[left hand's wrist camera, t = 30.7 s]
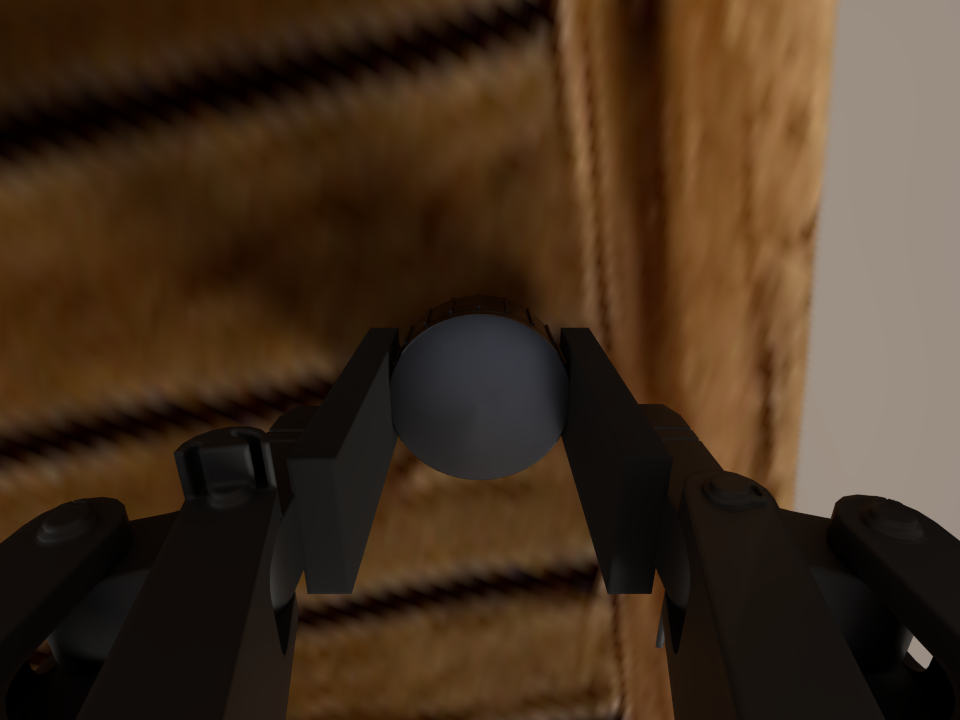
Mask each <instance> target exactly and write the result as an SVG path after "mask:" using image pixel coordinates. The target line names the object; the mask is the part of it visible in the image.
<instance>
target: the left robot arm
mask: <svg viewBox="0 0 960 720" xmlns="http://www.w3.org/2000/svg"><path fill="white" fill-rule="evenodd" d="M560 348H561V351H562V353H563V355H564V358H565V360H566V362H567V366H566V369H567V372H568V375H569V378H570V394H569V409H568V421H567V424H566V427H565V429H564V431H563V433H562V435H561V437H562V440H563V443H564V447H565V450H566V454H567V457H568V460H569V464H570V467H571V471H572V474H573V477H574V481H575V484H576V487H577V491H578V494H579V498H580V501H581V504H582V508H583V511H584V515H585V518H586V521H587V525H588V528H589V532H590V535H591V538H592V542H593V545H594V549H595V552H596V555H597V559H598V562H599V566H600V569H601V572H602V576H603V579H604V583H605V586H606V589H607V593H608V594H652V588H653V581H654V575H655V569H657V572H658V574H659V576H660V579H661V581H662V583H663V585H664V588H665V594H664V599H663V605H662V611H661V617H660V623H659V628H658V634H657V641H656V647H658V648H663V643H664V638H665V646H666V654H667V662H668V670H669V678H670V686H671V694H672V702H673V710H674V718H675V720H960V541H959V540H958V539H957V538H955V537H954V536H953V535H952V534H950V533H949V532H948V531H946V530H945V529H944V528H943V527H941V526H940V525H939V524H937V523H936V522H935V521H933V520H931V519H930V518H928V517H927V516H925V515H923V514H922V513H920V512H919V511H917V510H914V509H912V508H910V507H907V506H905V505H903V504H902V503H900V502H898V501H894V500H891V499H886V498H883V497H878V496H867V495H851V496H844V497H842V498H841V499H840V500H838V501H837V502H836V503H835V506H834V510H833V513H832V516H831V519H829V518H824V517H819V516H814V515H809V514H804V513H798V512H793V511H789V510H785V509H781V508H779V506H778V505H777V503H776V501H775V499H774V498H773V496H772V495H771V494H770V493H769V491H768V490H767V489H766V488H764V487H763V486H761V485H760V484H758V483H757V482H755V481H754V480H752V479H749V478H747V477H744V476H742V475H739V474H737V473H733V472H728V471H724V470H723V469H722V467H721V466H720V465H719V464H718V462H717V461H716V460H715V459H714V457H713V456H712V455H711V453H710V452H709V451H708V450H707V448H706V447H705V446H704V445H703V443H702V442H701V441H699V438H698V437H697V436H696V434H695V433H694V432H693V431H692V430H690V427H689V426H688V424H687V423H686V422H685V420H684V419H683V418H682V417H681V415H679V414H678V413H676V412H674V411H673V410H671V409H669V408H668V407H666V406H665V405H663V404H638V403H637V402H636V400H635V399H634V397H633V395H632V394H631V392H630V391H629V389H628V388H627V386H626V385H625V383H624V382H623V380H622V378H621V377H620V375H619V374H618V372H617V371H616V369H615V368H614V366H613V365H612V363H611V362H610V360H609V358H608V357H607V355H606V354H605V352H604V351H603V349H602V348H601V346H600V345H599V343H598V341H597V340H596V338H595V337H594V335H593V334H592V332H591V331H590V329H589V328H561V337H560ZM398 350H399V331H398V328H370V330H369V331H368V333H367V334H366V336H365V337H364V339H363V340H362V342H361V344H360V345H359V347H358V348H357V350H356V351H355V353H354V354H353V356H352V357H351V359H350V360H349V362H348V364H347V365H346V367H345V368H344V370H343V371H342V373H341V374H340V376H339V377H338V379H337V381H336V382H335V384H334V385H333V387H332V388H331V390H330V391H329V393H328V394H327V396H326V397H325V399H324V401H323V402H322V404H321V405H320V406H296V407H295V408H293V409H291V410H290V411H288V412H286V413H285V414H283V415H281V416H280V417H279V418H278V419H277V420H276V422H275V423H274V424H273V426H272V427H271V428H270V429H269V432H267V433H265V432H264V431H262V430H261V429H258V428H253V427H249V426H241V427H227V428H221V429H216V430H212V431H209V432H206V433H203V434H201V435H198V436H196V437H194V438H192V439H190V440H188V441H187V442H185V443H183V444H182V445H181V446H180V447H179V448H178V449H177V450H176V451H175V452H174V457H175V460H176V464H177V468H178V472H179V476H180V480H181V484H182V488H183V492H184V496H185V501H184V503H183V505H182V507H181V509H180V511H176V512H172V513H168V514H163V515H158V516H153V517H147V518H142V519H137V520H132V521H129V519H128V516H127V512H126V509H125V506H124V505H123V504H122V503H121V502H120V501H118V500H117V499H112V498H106V497H98V498H88V499H79V500H74V502H72V501H71V502H67V503H64V504H61V505H59V506H58V507H56V508H54V509H52V510H49V511H47V512H45V513H42V514H41V515H39V516H38V517H36V518H34V519H33V520H31V521H30V522H28V523H27V524H25V525H24V526H22V527H21V528H20V529H18V530H17V531H16V532H15V533H13V534H12V535H11V536H10V537H8V538H7V539H6V540H4V541H3V542H2V543H1V544H0V720H285V719H286V711H287V703H288V695H289V687H290V679H291V671H292V663H293V655H294V647H295V639H296V631H297V623H298V615H299V613H298V606H297V599H296V594H295V589H296V587H297V584H298V582H299V580H300V577H301V575H302V573H303V570H304V573H305V579H306V585H307V592H308V594H352V591H353V587H354V584H355V580H356V577H357V574H358V570H359V567H360V563H361V560H362V557H363V553H364V550H365V547H366V543H367V540H368V536H369V533H370V530H371V526H372V523H373V519H374V516H375V513H376V509H377V506H378V502H379V499H380V496H381V492H382V489H383V485H384V482H385V479H386V475H387V472H388V468H389V465H390V462H391V458H392V455H393V451H394V448H395V445H396V441H397V438H398V434H397V432H396V430H395V428H394V425H393V423H392V417H391V403H390V389H389V380H390V377H391V373H392V370H393V367H392V363H393V361H394V359H395V357H396V354H397V352H398ZM913 636H915V637H916V638H917V639H918V641H919V642H920V643H921V644H922V645H923V646H924V647H925V648H926V649H927V650H928V651H929V652H930V653H931V655H932V656H933V658H932V660H931V662H930V665H929V666H928V668H927V669H925V668H923V667H922V666H921V665H920V664H919V663H918V662H917V661H916V660H915V659H914V658H913V657H912V656H911V655H910V654H909V653H908V651H907V650H908V647H909V645H910V643H911V640H912V638H913ZM46 638H47V640H48V643H49V645H50V647H51V650H52V652H53V654H52V655H51V656H50V657H49V658H48V659H47V661H46V662H45V663H44V664H43V665H41V666H40V667H39V668H38V669H36V670H35V671H34V670H32V669H31V667H30V664H29V662H28V660H27V659H28V658H29V657H30V656H31V655H32V653H33V652H34V651H35V650H36V649H37V648H38V647H39V646H40V645H41V644H42V643H43V642H44V641H45V639H46Z"/></svg>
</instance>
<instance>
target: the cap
mask: <svg viewBox="0 0 960 720" xmlns="http://www.w3.org/2000/svg"><path fill="white" fill-rule="evenodd" d="M566 366H567V362H566V360H565V358H564V355H563V353H562V351H561V348H560V346H559V345H558V346H557V345H556V343H555V340H554V338H553V336H552V333H551V331H550V329H549V326H548V325H547V324H546V325H544V324H543V323H542V322H541V320H540V319H538V318H537V317H536V316H535V315H534V314H533V313H532V312H531V310H530V309H529V308H527V309H525V308H524V307H522V306H520V305H518V304H516V303H514V302H512V301H508V300H507V298H506V297H504V298H503V299H502V298H497V297H492V296H481V294H478V296H467V297H462V298H457V299H455V297H453V298H451V301H448V302H446V303H444V304H441V305H439V306H437V307H436V308H434V309H433V310H432V309H431V308H430V309H429V310H428V312H427V314H426V315H425V316H423V317H422V318H421V319H420V320H419V321H418V322H417V323H416V324H415V326H413V325H412V326H411V327H410V329H409V332H408V334H407V336H406V339H405V341H404V344H403V346H402V347H401V346H400V347H399V350H398V352H397V354H396V357H395V359H394V361H393V363H392V367H393V370H392V373H391V377H390V380H389V389H390V403H391V417H392V423H393V425H394V428H395V430H396V432H397V434H398V436H399V437H400V439H401V440H402V442H403V443H404V444H405V446H406V447H407V448H408V449H409V450H410V452H412V453H413V454H414V455H415V456H416V457H417V458H418V459H419V460H421V461H422V462H424V463H425V464H426V465H428V466H430V467H432V468H433V469H435V470H437V471H440V472H442V473H444V474H447V475H450V476H454V477H457V478H463V479H470V480H489V479H496V478H502V477H506V476H509V475H513V474H515V473H518V472H520V471H522V470H524V469H526V468H528V467H530V466H531V465H533V464H535V463H536V462H537V461H539V460H540V459H541V458H543V457H544V456H545V455H546V454H547V453H548V452H549V451H550V450H551V449H552V447H553V446H554V445H555V444H556V443H557V441H558V440H559V438H560V436H561V435H562V433H563V431H564V429H565V427H566V424H567V421H568V409H569V394H570V378H569V375H568V372H567V369H566Z"/></svg>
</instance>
